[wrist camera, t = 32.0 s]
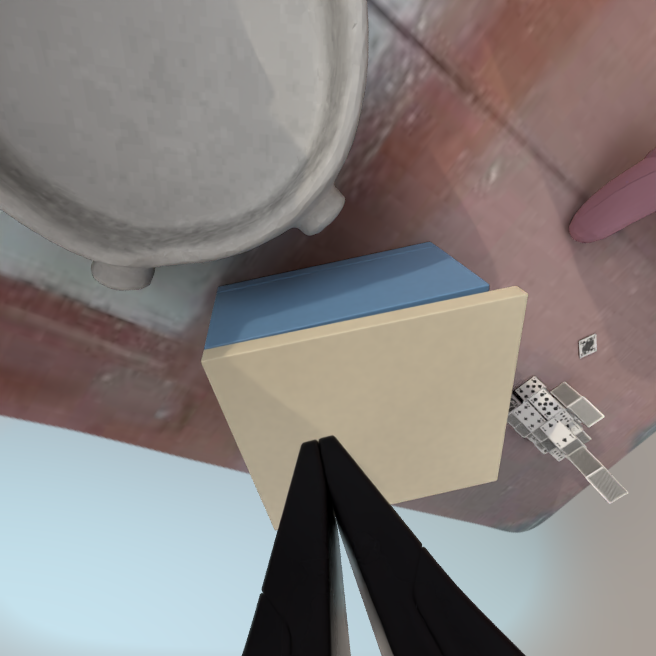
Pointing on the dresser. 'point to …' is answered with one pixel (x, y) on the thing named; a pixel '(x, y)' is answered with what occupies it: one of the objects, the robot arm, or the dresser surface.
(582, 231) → the video game controller
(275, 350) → the case lid
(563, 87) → the dresser surface
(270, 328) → the case
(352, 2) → the dish
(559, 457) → the house of cards
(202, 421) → the dresser surface
